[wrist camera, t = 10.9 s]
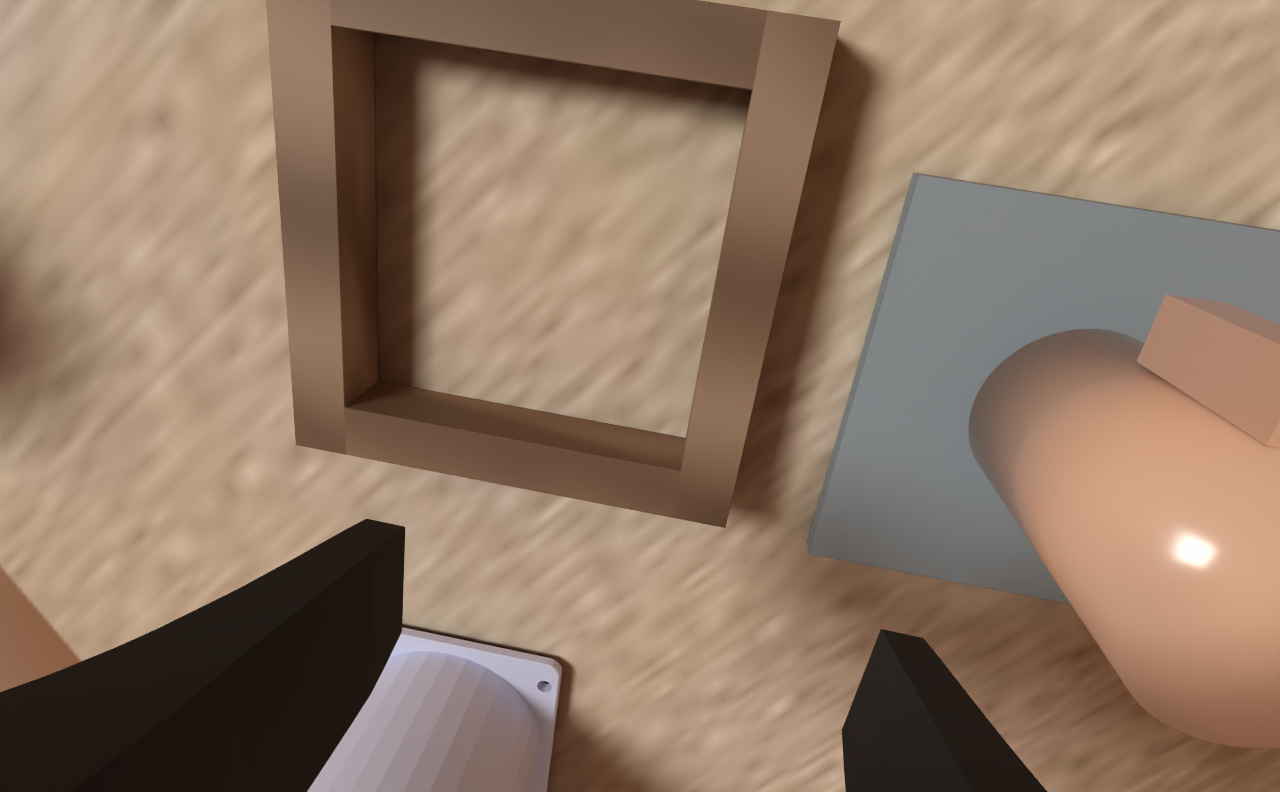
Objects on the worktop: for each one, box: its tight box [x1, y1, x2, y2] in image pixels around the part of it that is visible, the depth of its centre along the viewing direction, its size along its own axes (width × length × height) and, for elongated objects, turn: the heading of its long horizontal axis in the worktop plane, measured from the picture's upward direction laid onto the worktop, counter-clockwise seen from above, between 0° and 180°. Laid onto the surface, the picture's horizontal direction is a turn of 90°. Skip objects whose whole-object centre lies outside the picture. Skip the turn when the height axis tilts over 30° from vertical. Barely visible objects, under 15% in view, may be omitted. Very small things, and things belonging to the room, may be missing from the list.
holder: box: [266, 0, 841, 528], centre depth 18 cm, size 12×12×2 cm
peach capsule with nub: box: [968, 294, 1280, 749], centre depth 14 cm, size 6×5×8 cm
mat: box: [807, 173, 1280, 605], centre depth 19 cm, size 11×11×1 cm
